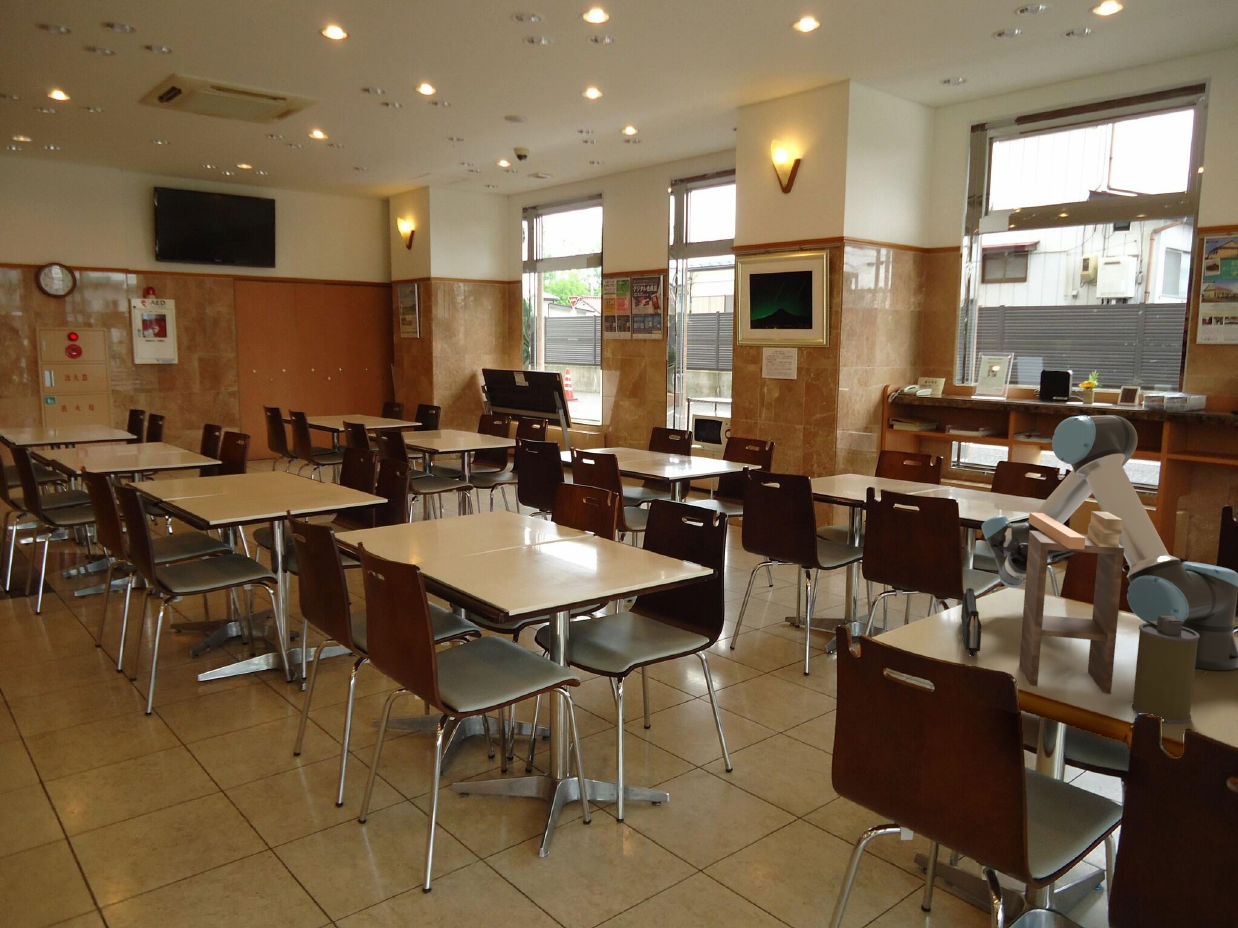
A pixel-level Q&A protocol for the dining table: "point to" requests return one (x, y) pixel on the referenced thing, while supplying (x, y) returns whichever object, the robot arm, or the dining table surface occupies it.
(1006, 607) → the dining table surface
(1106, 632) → the rack
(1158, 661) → the canister
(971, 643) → the magazine
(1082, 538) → the batten
